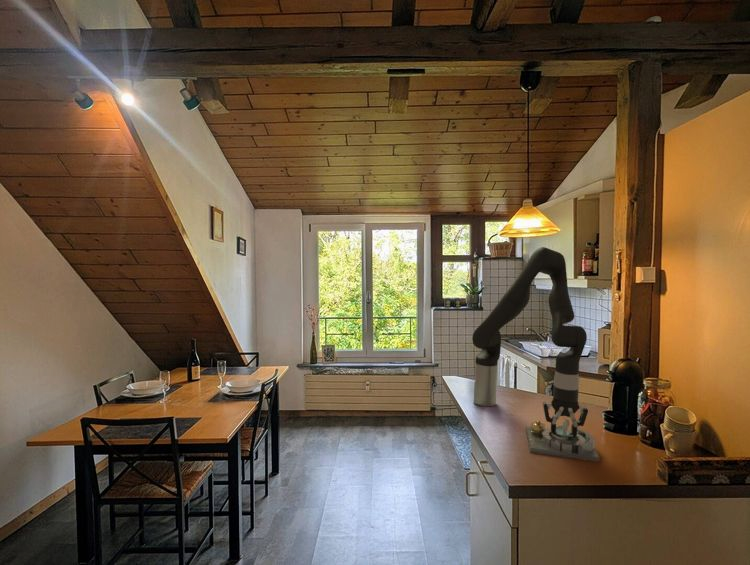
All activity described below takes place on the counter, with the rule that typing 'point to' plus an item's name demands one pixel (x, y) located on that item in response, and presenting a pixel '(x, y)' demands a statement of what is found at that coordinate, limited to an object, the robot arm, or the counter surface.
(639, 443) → the counter surface
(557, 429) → the pacifier
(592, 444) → the grey ring holder
